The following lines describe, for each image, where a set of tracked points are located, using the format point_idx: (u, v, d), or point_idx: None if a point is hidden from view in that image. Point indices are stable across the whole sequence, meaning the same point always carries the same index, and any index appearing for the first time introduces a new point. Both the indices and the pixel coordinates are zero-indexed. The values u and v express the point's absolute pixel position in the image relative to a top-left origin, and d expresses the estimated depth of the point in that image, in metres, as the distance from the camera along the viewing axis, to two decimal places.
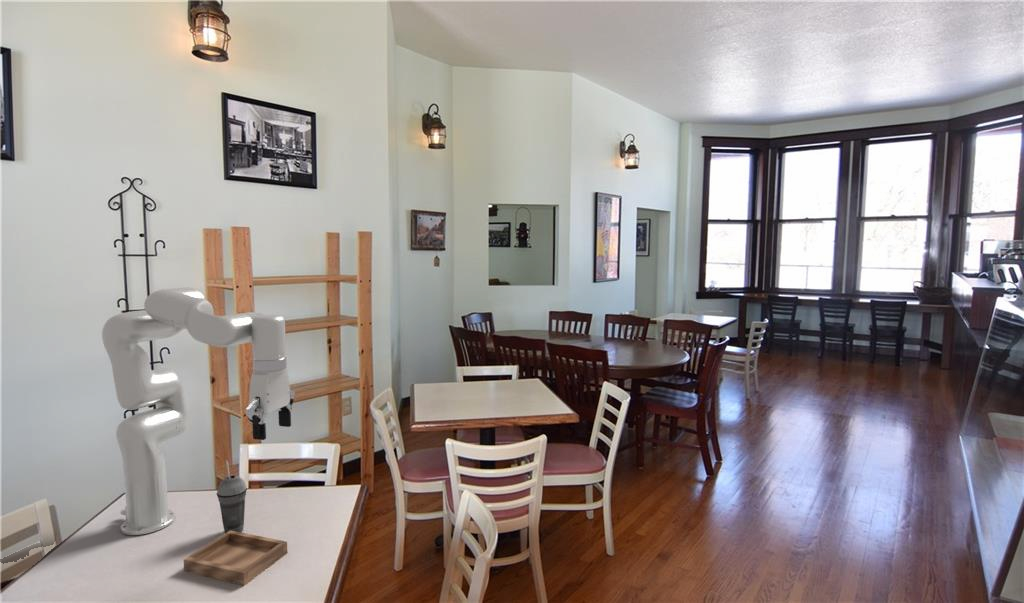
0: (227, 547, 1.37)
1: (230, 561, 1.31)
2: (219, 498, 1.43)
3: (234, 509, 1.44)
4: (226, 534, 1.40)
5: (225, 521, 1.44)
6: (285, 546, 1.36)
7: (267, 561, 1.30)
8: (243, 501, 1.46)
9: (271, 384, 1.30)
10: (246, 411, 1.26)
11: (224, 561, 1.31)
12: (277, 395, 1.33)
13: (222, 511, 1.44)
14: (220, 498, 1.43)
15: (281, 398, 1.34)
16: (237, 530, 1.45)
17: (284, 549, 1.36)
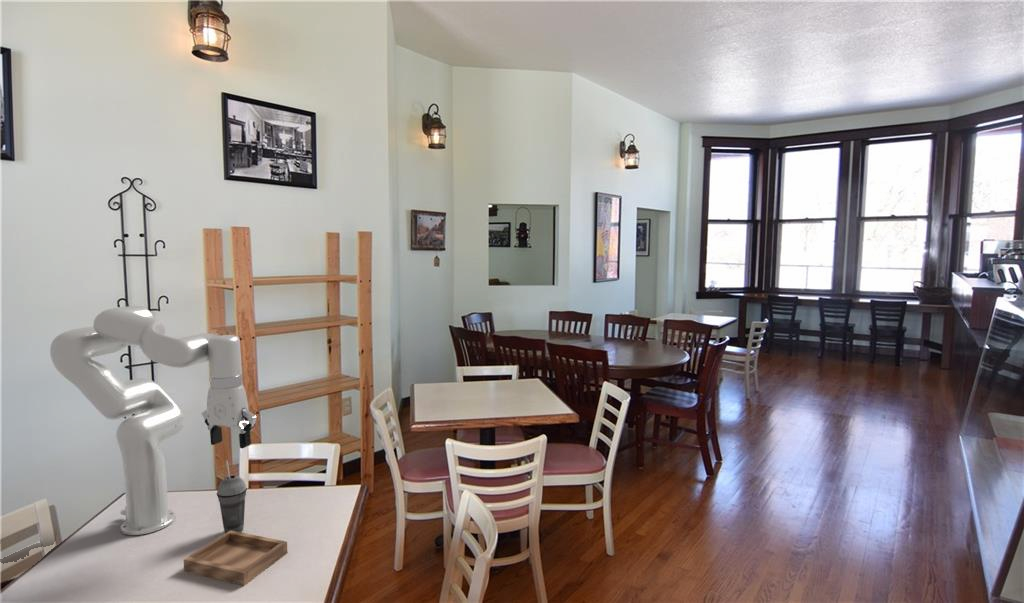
0: (227, 547, 1.37)
1: (230, 561, 1.31)
2: (219, 498, 1.43)
3: (234, 509, 1.44)
4: (226, 534, 1.40)
5: (225, 521, 1.44)
6: (285, 546, 1.36)
7: (267, 561, 1.30)
8: (243, 501, 1.46)
9: None
10: (254, 418, 1.41)
11: (224, 561, 1.31)
12: None
13: (222, 511, 1.44)
14: (220, 498, 1.43)
15: None
16: (237, 530, 1.45)
17: (284, 549, 1.36)
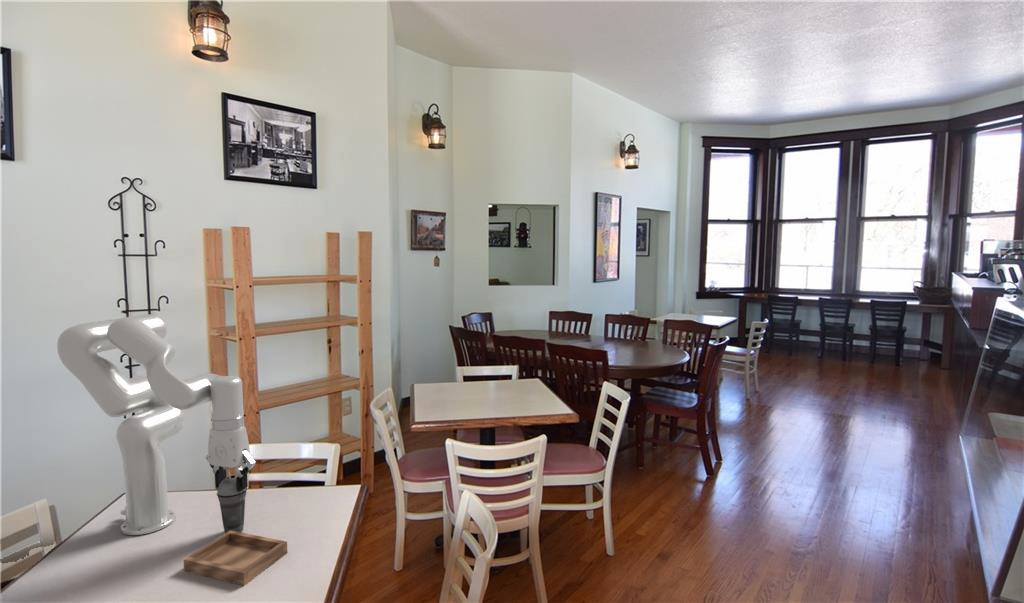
0: (227, 547, 1.37)
1: (230, 561, 1.31)
2: (219, 498, 1.43)
3: (234, 509, 1.44)
4: (226, 534, 1.40)
5: (225, 521, 1.44)
6: (285, 546, 1.36)
7: (267, 561, 1.30)
8: (243, 501, 1.46)
9: None
10: (253, 464, 1.42)
11: (224, 561, 1.31)
12: None
13: (222, 511, 1.44)
14: (220, 498, 1.43)
15: None
16: (237, 530, 1.45)
17: (284, 549, 1.36)
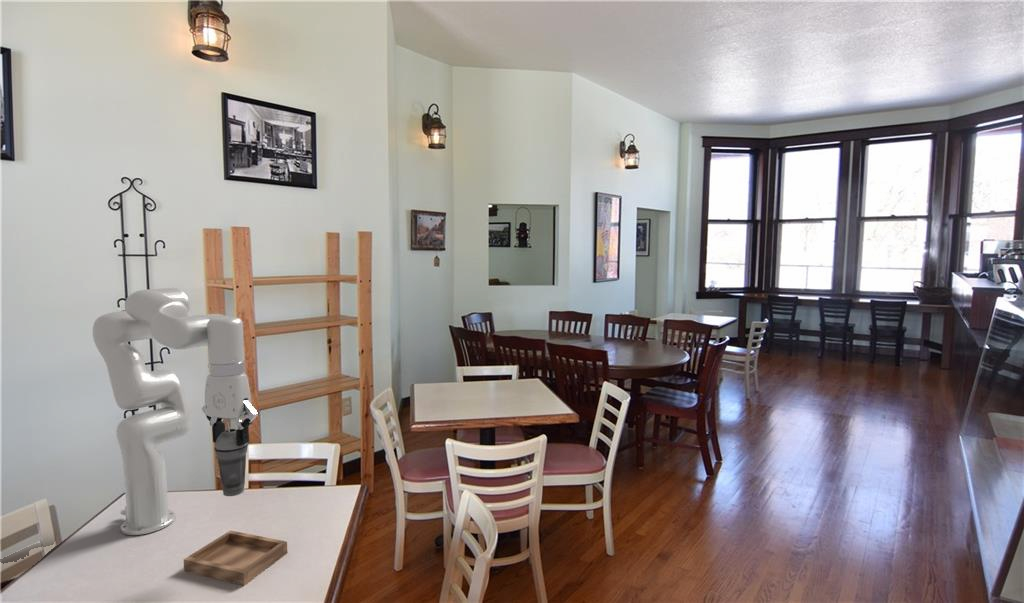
0: (227, 547, 1.37)
1: (230, 561, 1.31)
2: (217, 453, 1.27)
3: (234, 466, 1.28)
4: (226, 534, 1.40)
5: (224, 479, 1.28)
6: (285, 546, 1.36)
7: (267, 561, 1.30)
8: (244, 457, 1.30)
9: None
10: (255, 415, 1.27)
11: (224, 561, 1.31)
12: None
13: (220, 468, 1.28)
14: (218, 453, 1.27)
15: None
16: (237, 490, 1.30)
17: (284, 549, 1.36)
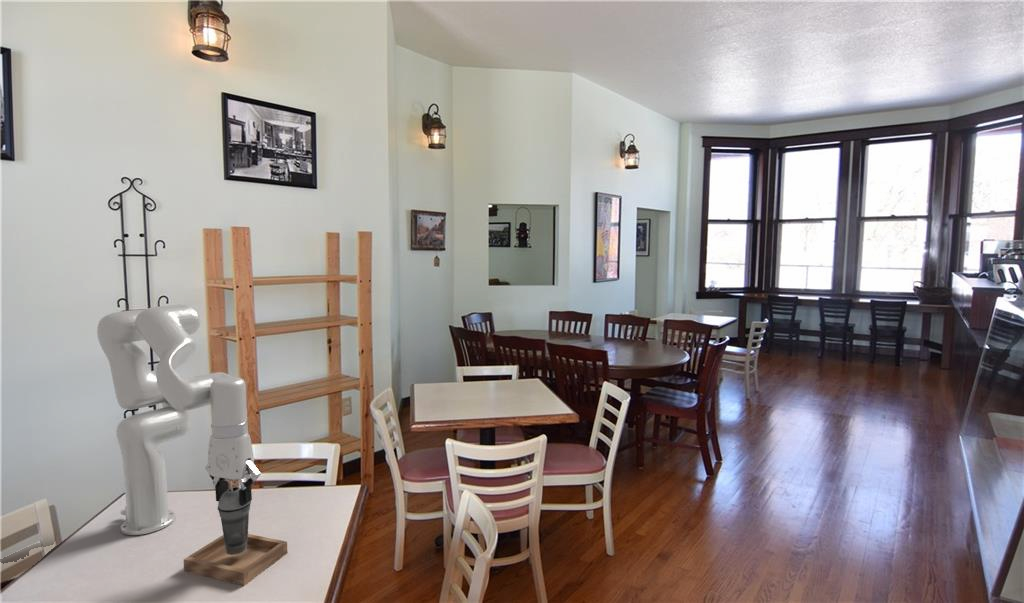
0: None
1: (230, 561, 1.31)
2: (220, 513, 1.29)
3: (237, 525, 1.30)
4: None
5: (227, 538, 1.30)
6: (285, 546, 1.36)
7: (267, 561, 1.30)
8: (247, 516, 1.32)
9: None
10: (257, 476, 1.28)
11: (224, 561, 1.31)
12: None
13: (223, 527, 1.30)
14: (221, 513, 1.29)
15: None
16: (240, 548, 1.31)
17: (284, 549, 1.36)
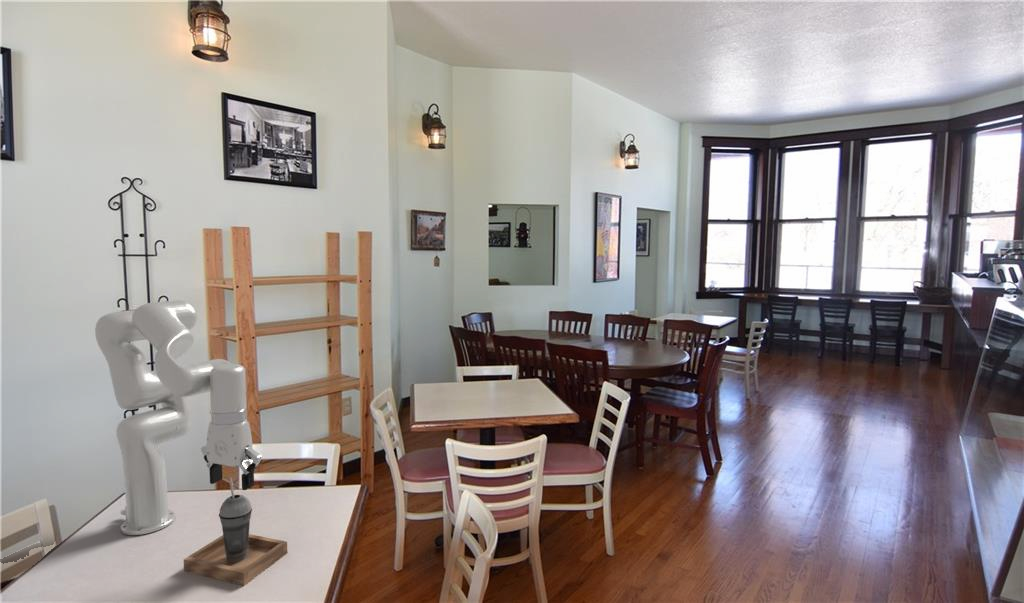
0: None
1: None
2: (221, 520, 1.29)
3: (238, 532, 1.30)
4: None
5: (227, 546, 1.30)
6: (285, 546, 1.36)
7: (267, 561, 1.30)
8: (248, 523, 1.32)
9: None
10: (259, 458, 1.28)
11: (224, 561, 1.31)
12: None
13: (224, 534, 1.30)
14: (222, 520, 1.29)
15: None
16: (240, 556, 1.31)
17: (284, 549, 1.36)
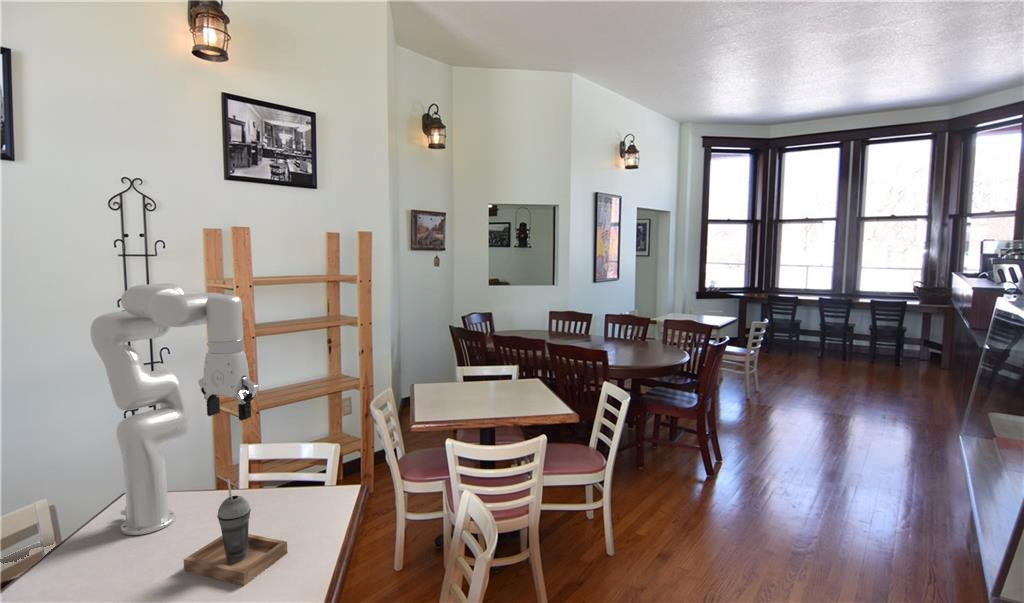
0: None
1: None
2: (220, 521, 1.29)
3: (237, 533, 1.30)
4: None
5: (227, 546, 1.30)
6: (285, 546, 1.36)
7: (267, 561, 1.30)
8: (247, 524, 1.32)
9: None
10: (255, 388, 1.27)
11: (224, 561, 1.31)
12: None
13: (223, 535, 1.30)
14: (221, 521, 1.29)
15: None
16: (240, 556, 1.31)
17: (284, 549, 1.36)
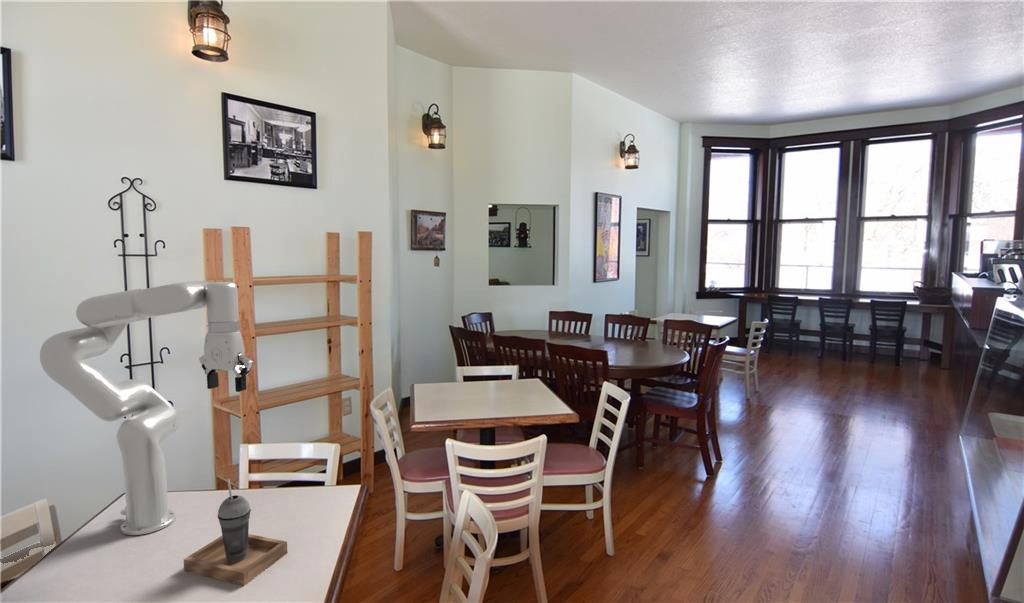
0: None
1: None
2: (220, 521, 1.29)
3: (237, 533, 1.30)
4: None
5: (227, 546, 1.30)
6: (285, 546, 1.36)
7: (267, 561, 1.30)
8: (247, 524, 1.32)
9: None
10: (250, 362, 1.45)
11: (224, 561, 1.31)
12: None
13: (223, 535, 1.30)
14: (221, 521, 1.29)
15: None
16: (240, 556, 1.31)
17: (284, 549, 1.36)
